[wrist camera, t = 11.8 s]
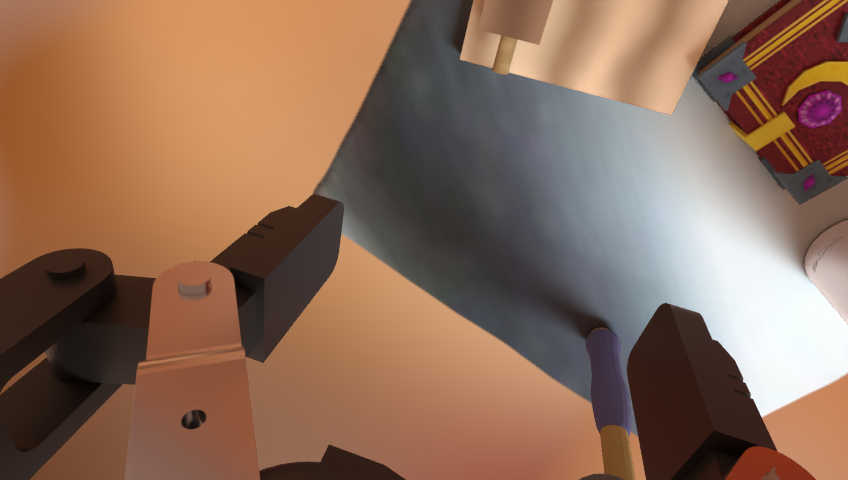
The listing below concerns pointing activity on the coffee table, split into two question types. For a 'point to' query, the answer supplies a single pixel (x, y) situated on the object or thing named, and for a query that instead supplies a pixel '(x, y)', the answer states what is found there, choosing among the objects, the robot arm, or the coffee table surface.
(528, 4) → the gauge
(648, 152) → the coffee table surface
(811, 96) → the decorative book
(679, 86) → the board
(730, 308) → the coffee table surface
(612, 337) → the rubber mallet
